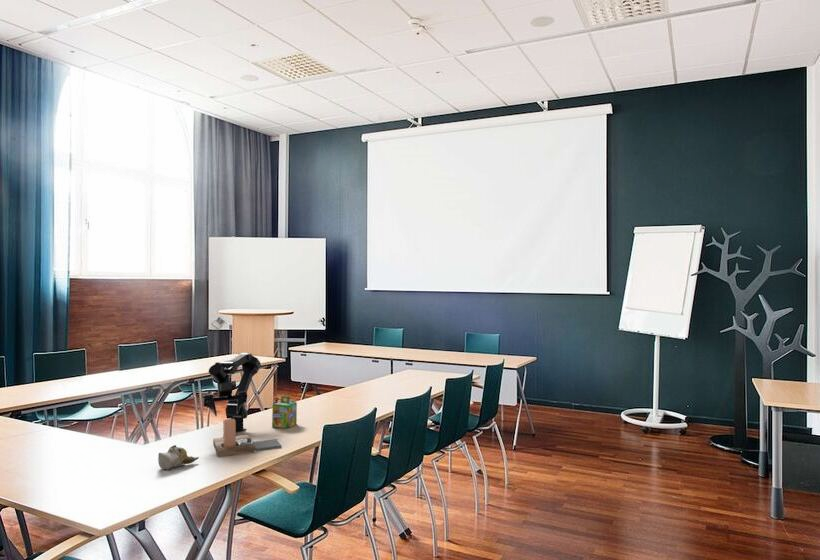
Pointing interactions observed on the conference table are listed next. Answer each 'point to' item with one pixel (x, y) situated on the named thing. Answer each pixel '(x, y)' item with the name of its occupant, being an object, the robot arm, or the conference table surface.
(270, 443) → the rubber pad
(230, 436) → the terracotta block
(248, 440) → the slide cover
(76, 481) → the conference table surface
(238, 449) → the walnut puzzle board
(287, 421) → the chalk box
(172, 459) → the ceramic sculpture
